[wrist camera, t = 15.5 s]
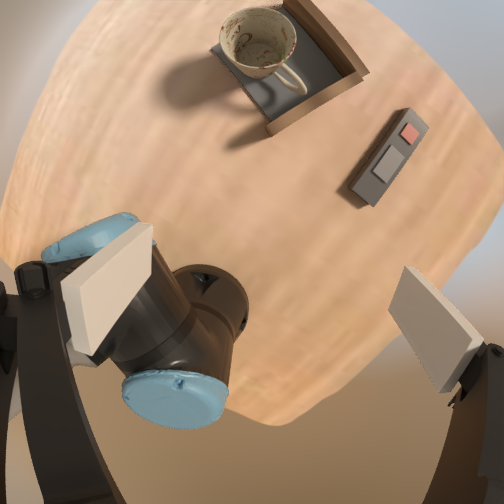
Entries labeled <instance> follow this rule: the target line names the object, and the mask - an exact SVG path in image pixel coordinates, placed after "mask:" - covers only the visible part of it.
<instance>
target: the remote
mask: <svg viewBox="0 0 504 504" xmlns="http://www.w3.org/2000/svg"><path fill="white" fill-rule="evenodd" d="M428 129H429V126H428V125H427V124H426V123H425V122H424V121H423V120H422V119H421V118H420V117H419V116H418V115H417V114H416V113H415V112H414V111H413V110H412V109H411V108H404V109H403V111H402V112H401V114H400V115H399V117H398V118H397V120H396V121H395V122H394V124H393V125H392V127H391V128H390V130H389V131H388V132H387V134H386V135H385V137H384V138H383V140H382V141H381V142H380V144H379V145H378V147H377V148H376V149H375V151H374V152H373V154H372V155H371V156H370V158H369V159H368V160H367V162H366V163H365V165H364V166H363V167H362V169H361V170H360V171H359V173H358V174H357V175H356V177H355V178H354V180H353V181H352V182H351V184H350V185H349V186H348V187H349V188H350V189H351V190H352V191H354V192H355V193H356V194H357V195H358V196H360V197H361V198H362V199H363V200H364V201H365V202H367V203H368V204H369V205H371V206H372V207H374V206H375V205H376V204H377V202H378V201H379V200H380V198H381V197H382V195H383V194H384V193H385V191H386V190H387V189H388V187H389V186H390V184H391V183H392V182H393V180H394V179H395V177H396V176H397V175H398V173H399V172H400V170H401V169H402V168H403V166H404V165H405V163H406V162H407V160H408V159H409V157H410V156H411V155H412V153H413V152H414V150H415V149H416V147H417V146H418V144H419V143H420V141H421V140H422V138H423V137H424V135H425V134H426V132H427V131H428Z"/></svg>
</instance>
